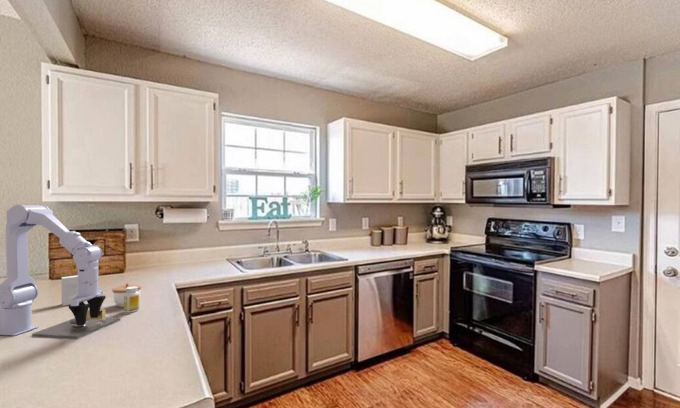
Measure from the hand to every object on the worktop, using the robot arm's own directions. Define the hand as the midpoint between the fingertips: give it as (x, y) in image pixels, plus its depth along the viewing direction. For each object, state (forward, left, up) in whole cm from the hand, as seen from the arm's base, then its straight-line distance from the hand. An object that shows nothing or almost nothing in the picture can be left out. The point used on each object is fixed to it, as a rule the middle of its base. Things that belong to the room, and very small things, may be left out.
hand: (87, 321), depth 115 cm
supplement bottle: (-3, +24, -4) cm, 24 cm away
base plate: (-7, +4, -4) cm, 9 cm away
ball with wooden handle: (-5, +4, -2) cm, 7 cm away
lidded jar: (-11, +31, -4) cm, 33 cm away
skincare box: (-37, +29, -4) cm, 47 cm away
